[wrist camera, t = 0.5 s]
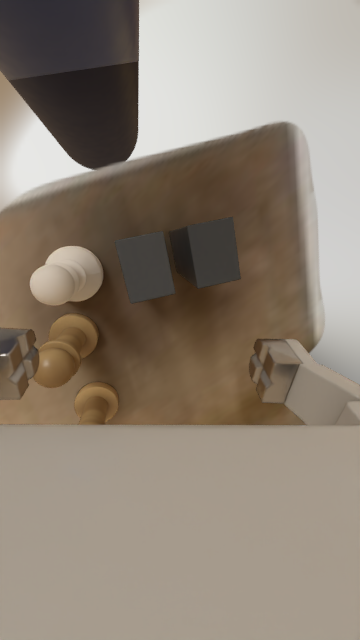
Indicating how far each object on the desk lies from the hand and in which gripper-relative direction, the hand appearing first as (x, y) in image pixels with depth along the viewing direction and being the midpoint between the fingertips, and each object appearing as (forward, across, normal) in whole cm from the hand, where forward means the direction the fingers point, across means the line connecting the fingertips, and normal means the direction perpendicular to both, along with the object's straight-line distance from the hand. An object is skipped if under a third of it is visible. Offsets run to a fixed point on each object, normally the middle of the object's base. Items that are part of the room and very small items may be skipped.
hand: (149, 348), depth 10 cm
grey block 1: (+18, +1, +2) cm, 18 cm away
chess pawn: (+17, +7, +4) cm, 19 cm away
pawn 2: (+14, +5, +17) cm, 23 cm away
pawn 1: (+15, +8, +10) cm, 20 cm away
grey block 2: (+18, -3, +1) cm, 19 cm away
